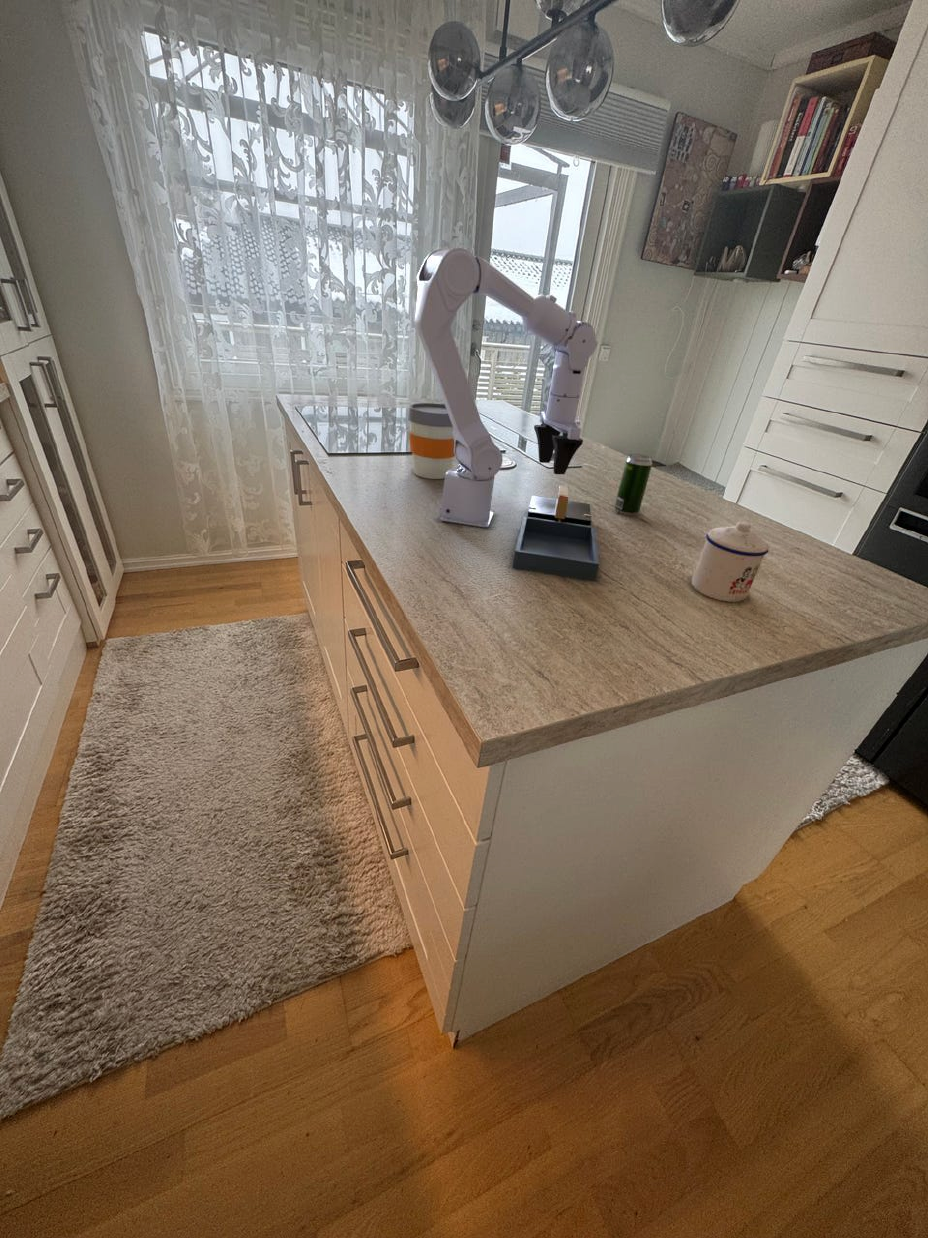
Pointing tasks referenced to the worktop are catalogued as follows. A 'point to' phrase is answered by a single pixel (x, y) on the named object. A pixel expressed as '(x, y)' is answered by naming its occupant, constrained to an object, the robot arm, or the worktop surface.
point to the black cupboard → (547, 507)
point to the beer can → (633, 484)
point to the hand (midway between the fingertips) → (551, 467)
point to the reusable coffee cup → (431, 440)
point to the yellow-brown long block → (562, 502)
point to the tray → (557, 548)
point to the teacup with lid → (729, 562)
